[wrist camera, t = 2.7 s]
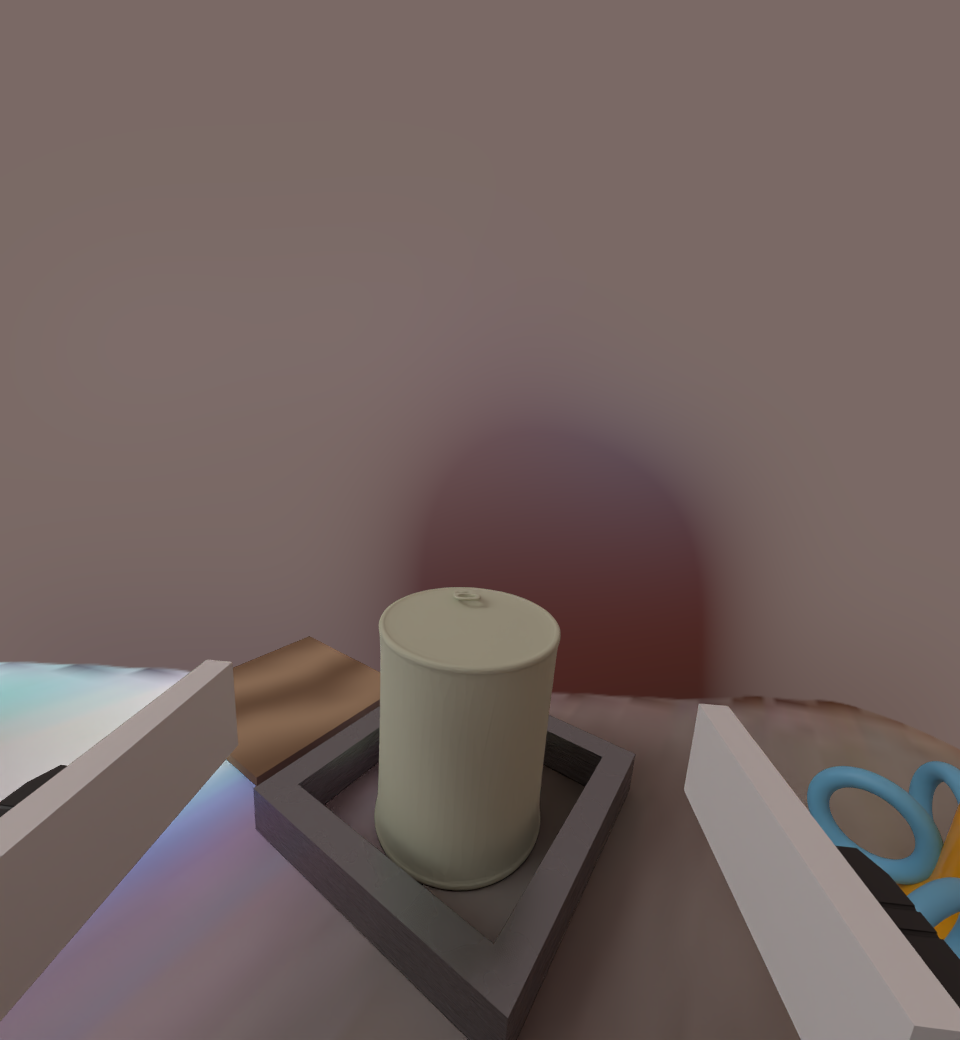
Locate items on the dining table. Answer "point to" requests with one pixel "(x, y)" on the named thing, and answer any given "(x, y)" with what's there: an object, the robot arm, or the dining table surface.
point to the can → (462, 733)
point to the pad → (296, 704)
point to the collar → (417, 912)
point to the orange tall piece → (932, 866)
